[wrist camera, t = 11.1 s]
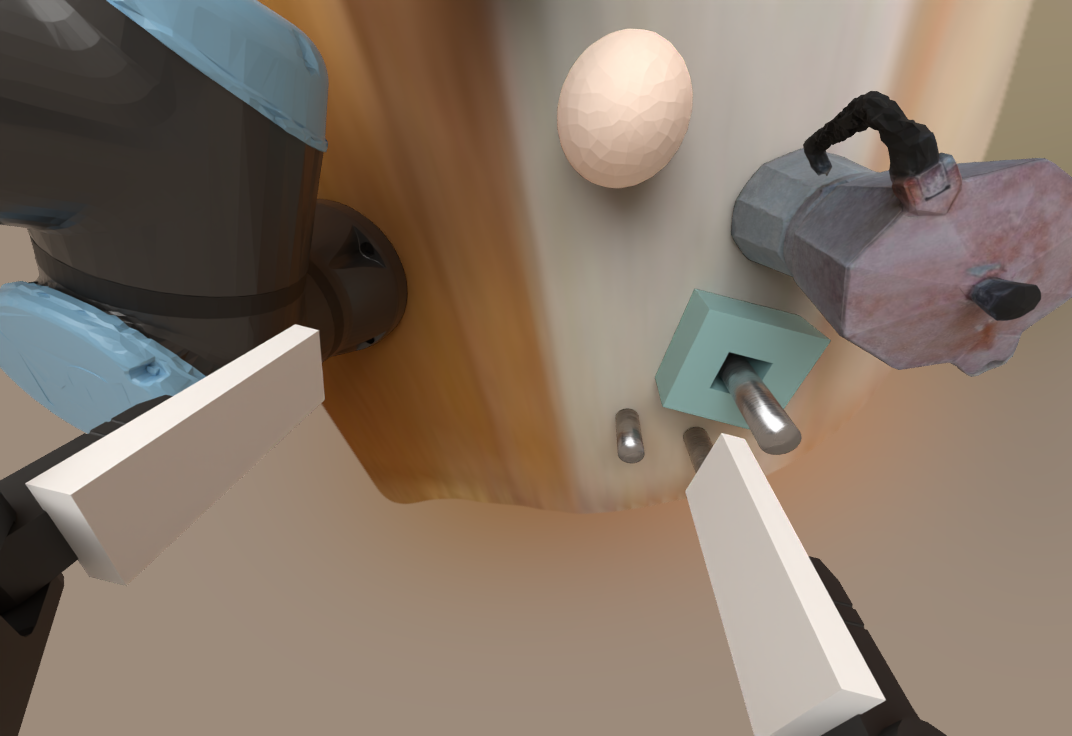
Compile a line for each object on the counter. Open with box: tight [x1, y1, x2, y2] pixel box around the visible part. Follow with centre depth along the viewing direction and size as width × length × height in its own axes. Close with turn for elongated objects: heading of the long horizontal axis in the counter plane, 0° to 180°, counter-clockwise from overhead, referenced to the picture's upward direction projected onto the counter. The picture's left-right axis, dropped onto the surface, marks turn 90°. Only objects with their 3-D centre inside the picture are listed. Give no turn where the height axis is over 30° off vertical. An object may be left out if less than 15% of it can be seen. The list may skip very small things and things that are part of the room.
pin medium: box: [683, 427, 713, 473], centre depth 39 cm, size 3×3×10 cm
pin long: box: [718, 352, 801, 455], centre depth 32 cm, size 3×3×14 cm
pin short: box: [616, 409, 644, 463], centre depth 41 cm, size 3×3×6 cm
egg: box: [557, 29, 693, 188], centre depth 25 cm, size 9×9×11 cm
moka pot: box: [731, 91, 1072, 377], centre depth 23 cm, size 10×15×20 cm, turn 44°
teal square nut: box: [655, 289, 831, 429], centre depth 35 cm, size 10×10×6 cm
